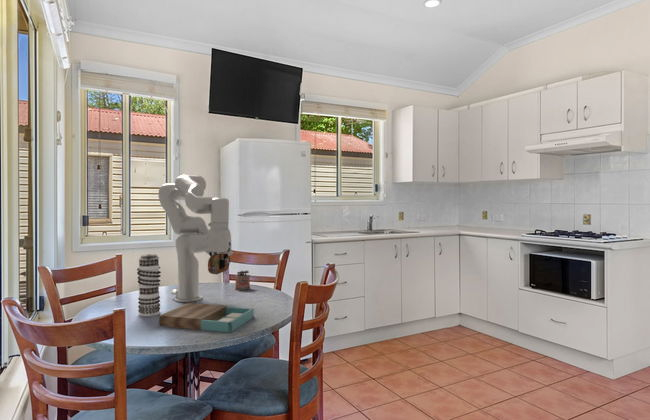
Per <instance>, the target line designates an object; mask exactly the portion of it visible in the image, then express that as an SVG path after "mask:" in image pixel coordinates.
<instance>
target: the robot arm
mask: <svg viewBox="0 0 650 420" xmlns="http://www.w3.org/2000/svg"><path fill="white" fill-rule="evenodd" d="M206 187H207V183H206V180H205V178H204V177H202V176H201V175H193V174H192V175H191V174H182V175H179V176H177V178H176V179H175V181H174V182H173V183H172V182H171V183H164V184H161V186H160V187H159V189H158V200H159V201H158V202H159V203H160V205H161V207H162V209H163V210H164V212H165V214H166V215H167V218H168V221H169V224H170V226H171V229H172V231H173V233H174V234H175V235H177V238H176V239H175V251H176V256H177V289H173V290H172V292H171V295H173V296H174V295H175V297H174V302H178V303H194V302H197V301H201V300H202V299H203V295H201V294H200V293H199V292H200V291H199V289H200V288H199V285H200V283H199V282H200V281H199V279H200V278H199V276H200V275H199V274H200V273H199V272H200V271H199V270H200V269H199V260H198V258H197V257H196V255H195V254H199V253H200V254H201V253H206V254H207V255H209V256H210V257H211V256H212V255H215V254H218V253H221V260H220V269H223V268H225V259H227V257H228V256H232V255H233V254H234V252H233V249H232V234H231V230H230V229H229V218H230V217H229V216H230V215H229V214H230V213H229V212H230V208H229V207H230V206H229V205H230V201H229V199H228V198H226V197H218V196H204V194H205V190H206ZM178 201H184V203H185V206H186V207H187V209H189V211H191V212H192V213H194V214H197V215H187V213H186V210H185V208H184V207H183V206H182V204H180V203H179V202H178ZM203 214H204V215H205V214H208V215H210V222H209V223H208V224H207V223H206V222H205V219H204V218H202V217H201V216H199V215H203ZM207 225H208V226H207ZM208 227H210V228H209V229H208Z"/></svg>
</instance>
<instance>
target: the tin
mask: <svg viewBox="0 0 650 420" xmlns="http://www.w3.org/2000/svg"><path fill="white" fill-rule="evenodd" d="M230 256H231V255H230ZM230 256H228V257H227V259H225V268H223V269H220V260H221V253H217V254H215V255H212V256H210V257H209V258H208V261H207V271H208V273H209V274H212V275H218V274H222V273H225V272H226V271H227V270H228V269H229V267H230V264H231V257H230Z"/></svg>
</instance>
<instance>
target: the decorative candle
mask: <svg viewBox="0 0 650 420" xmlns="http://www.w3.org/2000/svg"><path fill="white" fill-rule="evenodd" d="M159 259H160V257H159V256H158V254H156V253H145V254H142V255H141V256H140V257H139V258H138V268H136V271H137V272H136V273H137V275H138V276H137V280H138V281H137V283H138V286H137V287H138V288H139V291H138V298H137V300H138V306H137V308H138V309H137V311H138V316H140V317H152V316H153V317H154V316H157V315H160V313H161V311H160V310H161V303H160V302H161V300H160V298H161V295H160V288H159V287H160V286H161V283H160V282H161V279H160V278H161V275H160V274H161V273H162V271H161V270H160V269H161V266H160V264H159Z"/></svg>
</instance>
